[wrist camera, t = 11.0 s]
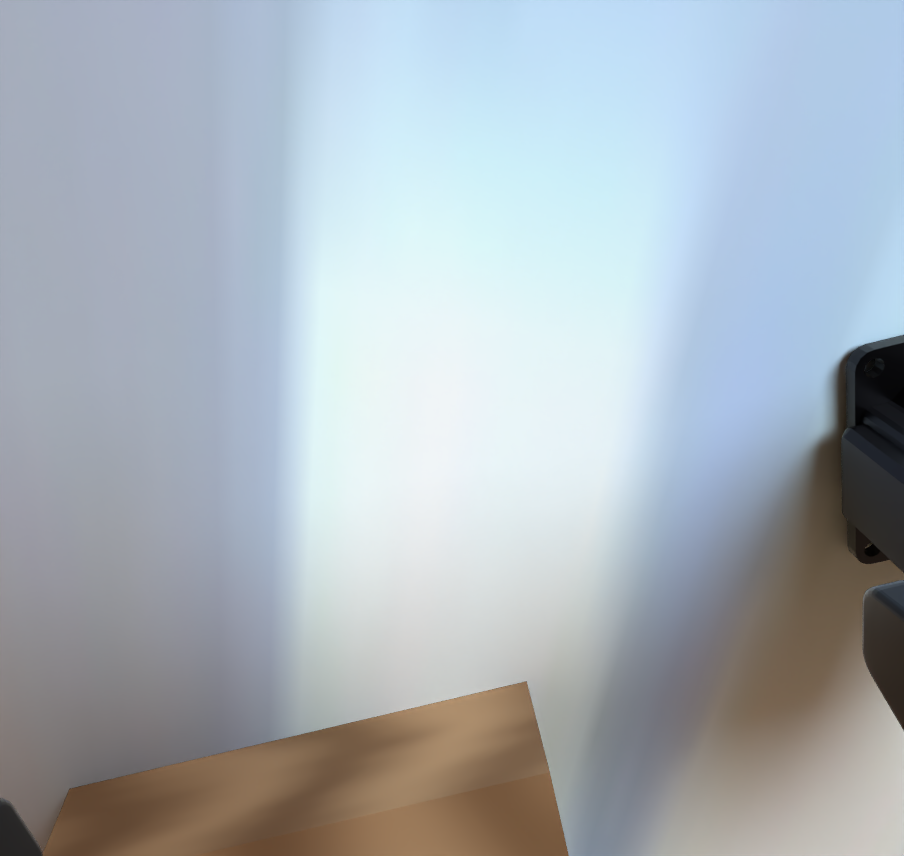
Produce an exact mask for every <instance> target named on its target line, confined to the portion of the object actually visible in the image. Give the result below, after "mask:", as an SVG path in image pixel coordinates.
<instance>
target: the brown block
mask: <svg viewBox="0 0 904 856" xmlns="http://www.w3.org/2000/svg"><path fill="white" fill-rule="evenodd" d="M42 855H43V856H569V855H568V851H567V846H566V842H565V838H564V833H563V829H562V824H561V820H560V815H559V811H558V807H557V802H556V798H555V793H554V789H553V785H552V780H551V776H550V771H549V768H548V764H547V760H546V756H545V752H544V748H543V744H542V740H541V736H540V732H539V728H538V724H537V720H536V717H535V713H534V709H533V705H532V701H531V697H530V693H529V689H528V685H527V681H526V682H522V683H518V684H513V685H509V686H505V687H501V688H496V689H492V690H488V691H484V692H479V693H475V694H471V695H467V696H462V697H458V698H454V699H450V700H445V701H441V702H437V703H433V704H428V705H424V706H420V707H416V708H411V709H407V710H403V711H399V712H394V713H390V714H386V715H382V716H377V717H373V718H369V719H365V720H360V721H356V722H352V723H348V724H343V725H339V726H335V727H331V728H326V729H322V730H318V731H314V732H309V733H305V734H301V735H297V736H292V737H288V738H284V739H280V740H275V741H271V742H267V743H262V744H258V745H254V746H250V747H245V748H241V749H237V750H233V751H228V752H224V753H220V754H216V755H211V756H207V757H203V758H199V759H194V760H190V761H186V762H182V763H177V764H173V765H169V766H165V767H160V768H156V769H152V770H148V771H143V772H139V773H135V774H131V775H126V776H122V777H118V778H114V779H109V780H105V781H101V782H97V783H92V784H88V785H84V786H80V787H75V788H71V789H69V792H68V794H67V797H66V799H65V801H64V804H63V806H62V809H61V811H60V813H59V816H58V818H57V821H56V823H55V825H54V828H53V830H52V833H51V835H50V838H49V840H48V842H47V845H46V847H45V850H44V852H43V854H42Z"/></svg>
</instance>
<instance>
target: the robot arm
mask: <svg viewBox="0 0 904 856" xmlns="http://www.w3.org/2000/svg"><path fill="white" fill-rule="evenodd" d="M873 359H875V364H874V366H873V367H872V368H871V370H868V371H866V372H865V371H864V370H865V366H866V365H867V363H868V362H869V361H871V360H873ZM846 399H847V429H846V430H845V432H844V434H843V436H842V438H841V446H842V512H843V515H844V516H845V517H846V518H847V519H848V548H849V551H850V552H851V553H852V554H853V555H854V556H855V557H856V558H857V559H858V560H859V561H860V562H862V563H865V564H873V563H877V562H881V561H886V560H891V561H892V562H893V563H894V564H895V565H896V566H897V567H898V568H899V569H900V570H901V571H902V572H903V573H904V335H902V336H898V337H894V338H890V339H885V340H881V341H877V342H873V343H869V344H865V345H863V346H861V347H858V348H857V349H856V350H855V351H854V352H852V354H851V355H850V357H849V359H848V361H847V366H846ZM871 542H872V545H871V546H870V547H868V548H865V547H866V546H867V545H868V544H869V543H871ZM863 654H864V659H865V662H866V665H867V667H868V670H869V672H870V674H871V676H872V677H873V679H874V681H875V683H876V684H877V686H878V688H879V689H880V691H881V693H882V694H883V696H884V698H885V700H886V701H887V703H888V705H889V706H890V708H891V710H892V711H893V713H894V715H895V717H896V718H897V720H898V722H899V723H900V725H901V727H902V728H903V730H904V580H900V581H895V582H891V583H887V584H883V585H879V586H875V587H871V588H870V589H868V590H867V591H866V592H865V594H864V597H863ZM0 856H43V855H42V852H41V848H40V846H39V844H38V843H37V841H36V840H35V838H34V837H33V835H32V834H31V832H30V831H29V829H28V828H27V826H26V825H25V823H24V822H23V820H22V819H21V817H20V816H19V814H18V813H17V811H16V810H15V808H14V807H13V805H12V804H11V803H10V802H9V801H7V800H5V799H3V798H0Z"/></svg>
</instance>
